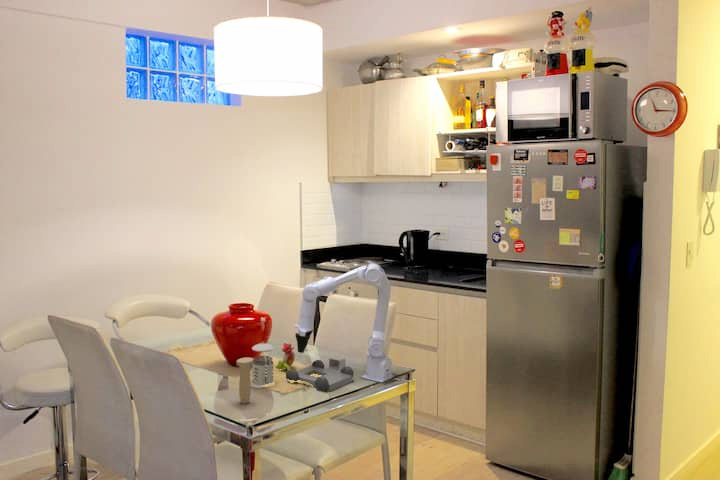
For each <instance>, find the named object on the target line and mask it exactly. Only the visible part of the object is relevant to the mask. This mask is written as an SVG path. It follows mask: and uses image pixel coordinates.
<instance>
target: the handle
mask: <svg viewBox="0 0 720 480" xmlns="http://www.w3.org/2000/svg"><path fill="white" fill-rule="evenodd" d="M253 358H254V357H247V356H246V357H241V358H239V359H237V360H236V366H238V367H239V370H240V371H239V382H238V384H239V385H238V386H239V387H238V388H239V389H238V391H239V398H240V404H243V405H244V404H249V403H250V398H251V391H252V386H251V381H252V379H251V367H252V364H253V362H254V359H253Z"/></svg>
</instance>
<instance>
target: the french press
mask: <svg viewBox="0 0 720 480" xmlns="http://www.w3.org/2000/svg"><path fill="white" fill-rule="evenodd" d="M260 322H262V328H264V326H265V325H264V323H265V322H267V321H266V318H265V317H262V318H260ZM251 349H252V351H253V352H258V353H268V352H271V351H273V350H274V349H275V347H274V346H273V345H271V344H270V343H265V342H261V343H260V342H259V343H258V344H255V345H253V346H252V347H251ZM252 358H253V359H254V362H253V364H252V365H251V367H252V368H251V369H252V370H251V371H252V373H251V374H252V375H251V377H252V379H251V381H252V382H251V388H257V389H262V388H261V385H265V384H269V383H272V382H273V381H274V361H273V357H272V356H270V354H269V353H268V355H265V354H263V355H257V356H254V357H252Z"/></svg>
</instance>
